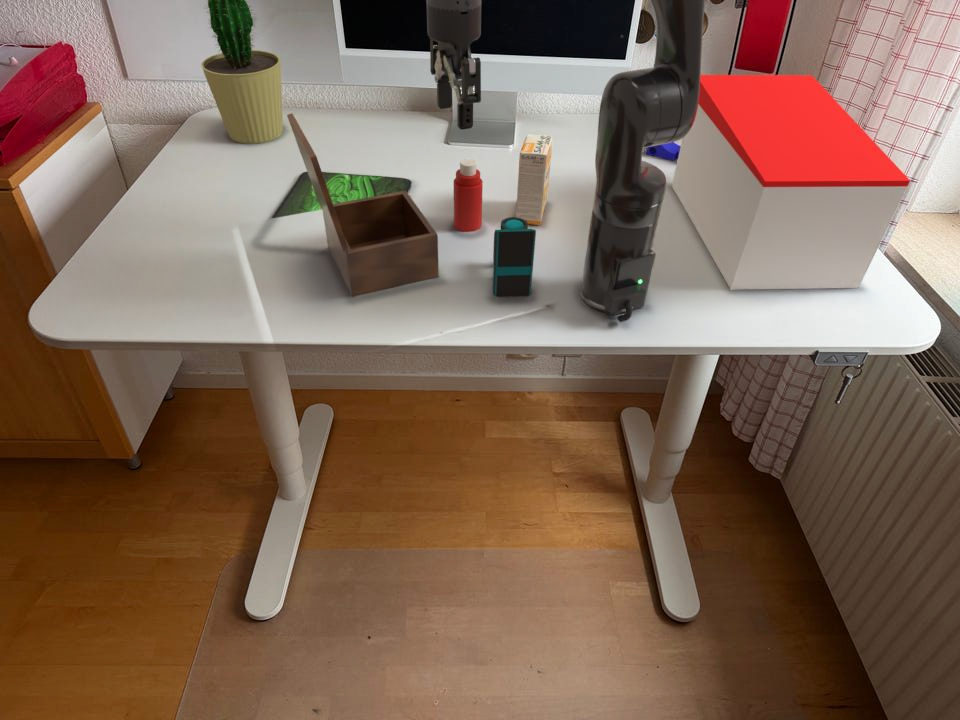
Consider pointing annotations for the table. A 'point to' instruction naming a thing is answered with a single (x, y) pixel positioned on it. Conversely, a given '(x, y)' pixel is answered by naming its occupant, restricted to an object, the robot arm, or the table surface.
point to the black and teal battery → (513, 258)
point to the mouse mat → (338, 191)
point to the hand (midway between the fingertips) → (454, 117)
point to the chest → (383, 243)
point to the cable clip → (665, 151)
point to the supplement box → (533, 177)
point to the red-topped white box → (784, 184)
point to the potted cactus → (243, 76)
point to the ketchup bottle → (468, 197)
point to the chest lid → (317, 181)
